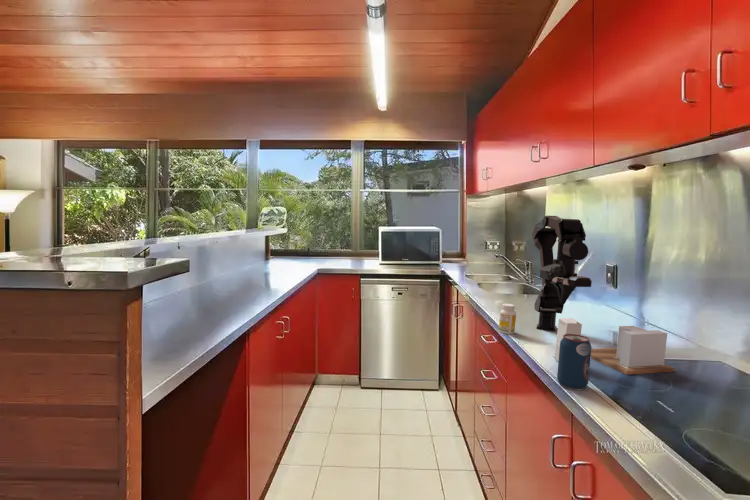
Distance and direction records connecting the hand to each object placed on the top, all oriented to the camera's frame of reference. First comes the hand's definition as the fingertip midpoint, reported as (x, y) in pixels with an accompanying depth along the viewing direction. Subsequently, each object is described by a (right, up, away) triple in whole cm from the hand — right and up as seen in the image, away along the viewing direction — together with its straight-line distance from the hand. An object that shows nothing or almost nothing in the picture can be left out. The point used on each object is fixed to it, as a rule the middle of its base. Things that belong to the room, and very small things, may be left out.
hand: (562, 303), depth 149 cm
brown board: (+10, -14, -20) cm, 26 cm away
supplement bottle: (-16, -11, +7) cm, 21 cm away
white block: (+11, -13, -23) cm, 29 cm away
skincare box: (-8, -14, -23) cm, 28 cm away
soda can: (-14, -15, -40) cm, 45 cm away
